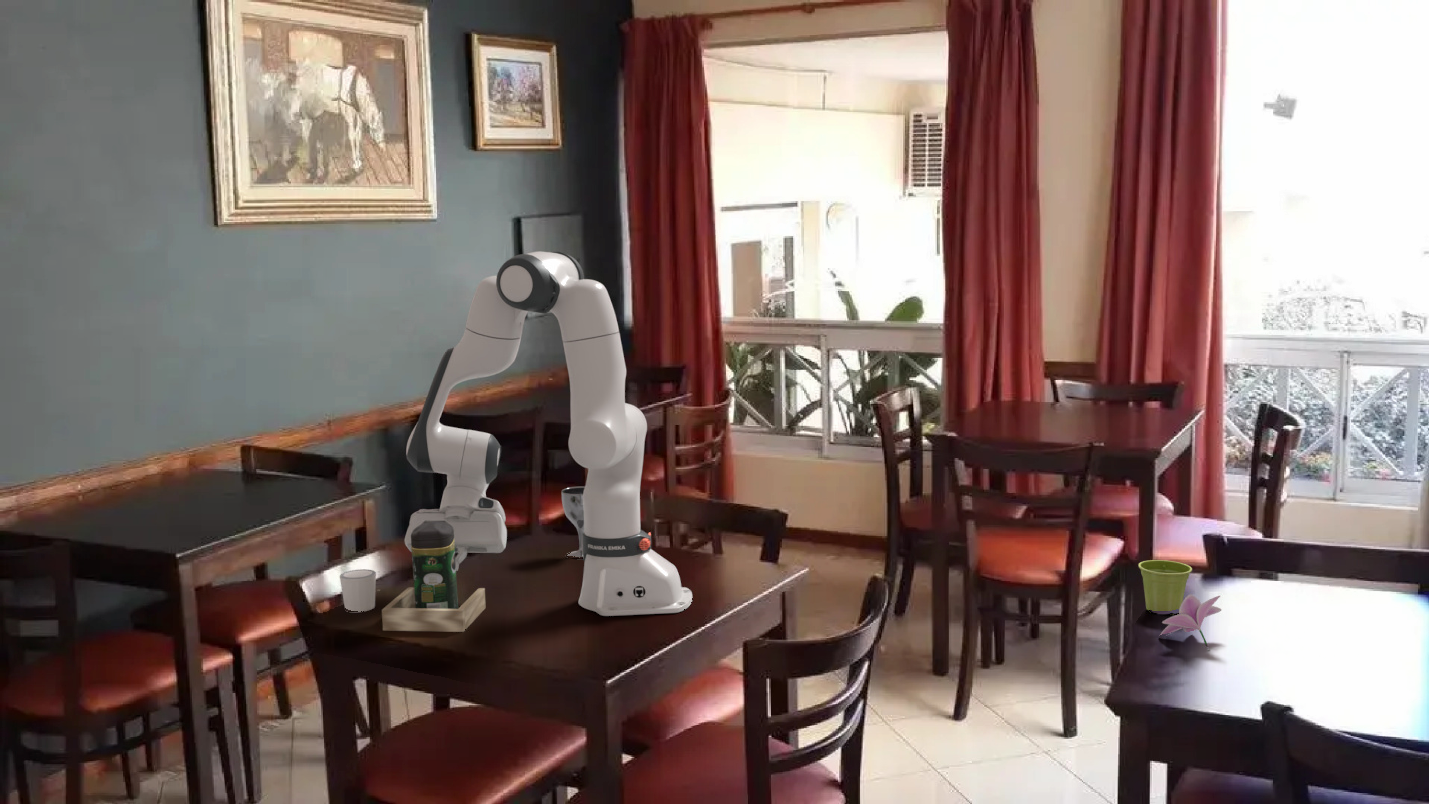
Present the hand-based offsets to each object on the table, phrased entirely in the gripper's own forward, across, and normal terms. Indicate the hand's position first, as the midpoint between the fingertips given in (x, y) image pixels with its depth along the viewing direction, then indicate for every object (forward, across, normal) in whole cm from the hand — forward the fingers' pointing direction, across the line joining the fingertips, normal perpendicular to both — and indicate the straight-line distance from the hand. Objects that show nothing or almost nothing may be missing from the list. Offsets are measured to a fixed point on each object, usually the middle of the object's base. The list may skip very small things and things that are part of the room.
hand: (449, 569), depth 242 cm
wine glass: (-21, +19, +31) cm, 41 cm away
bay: (+11, 0, -2) cm, 11 cm away
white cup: (+8, -17, +3) cm, 19 cm away
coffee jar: (+11, 0, -1) cm, 11 cm away
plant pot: (+5, +138, +5) cm, 138 cm away
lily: (+17, +138, -8) cm, 139 cm away
